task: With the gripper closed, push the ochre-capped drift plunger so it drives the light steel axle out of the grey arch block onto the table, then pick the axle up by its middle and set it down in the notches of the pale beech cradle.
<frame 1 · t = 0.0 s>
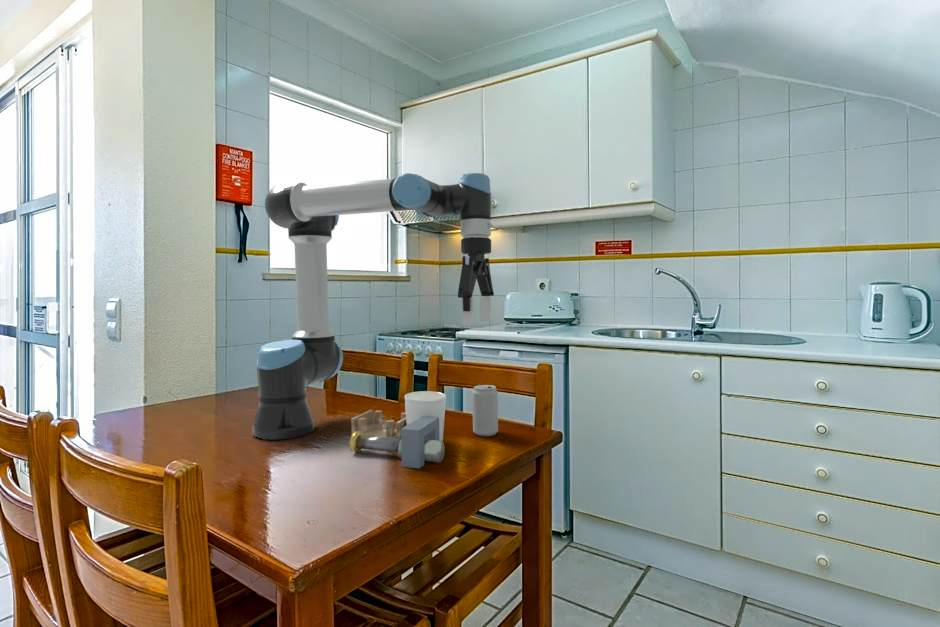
hand: (477, 323, 130), 28 cm above the table, fingers open, 13 cm apart
axle: (421, 449, 113), point 2 cm above the table
candle holder: (424, 445, 124), on the table, touching cradle
beverage can: (485, 434, 132), on the table
grey arch block: (421, 459, 113), on the table
drift plunger: (376, 443, 116), point 2 cm above the table, slide at 0.0 cm
cradle: (384, 440, 127), on the table
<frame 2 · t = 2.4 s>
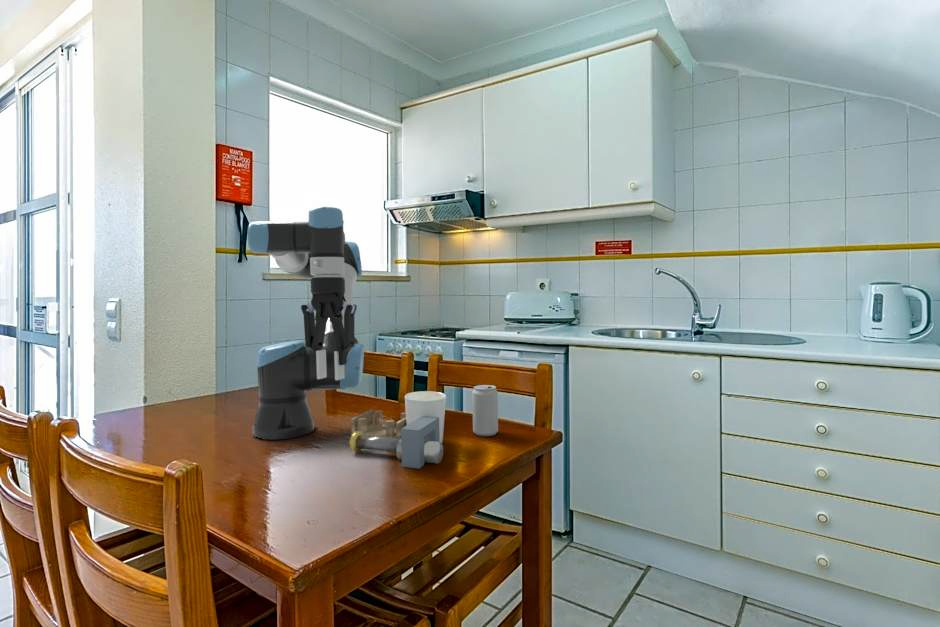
hand: (330, 378, 119), 17 cm above the table, fingers open, 4 cm apart
axle: (420, 450, 112), point 2 cm above the table, tilted 19°
everything else where it was.
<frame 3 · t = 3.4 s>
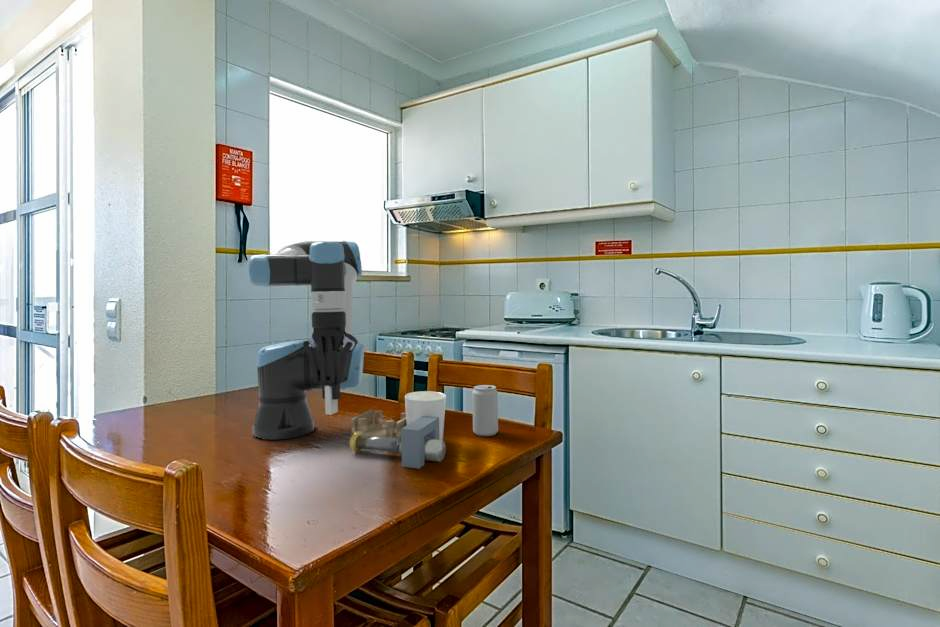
hand: (331, 413, 120), 9 cm above the table, fingers closed
axle: (422, 449, 113), point 2 cm above the table, tilted 15°
everything else where it was.
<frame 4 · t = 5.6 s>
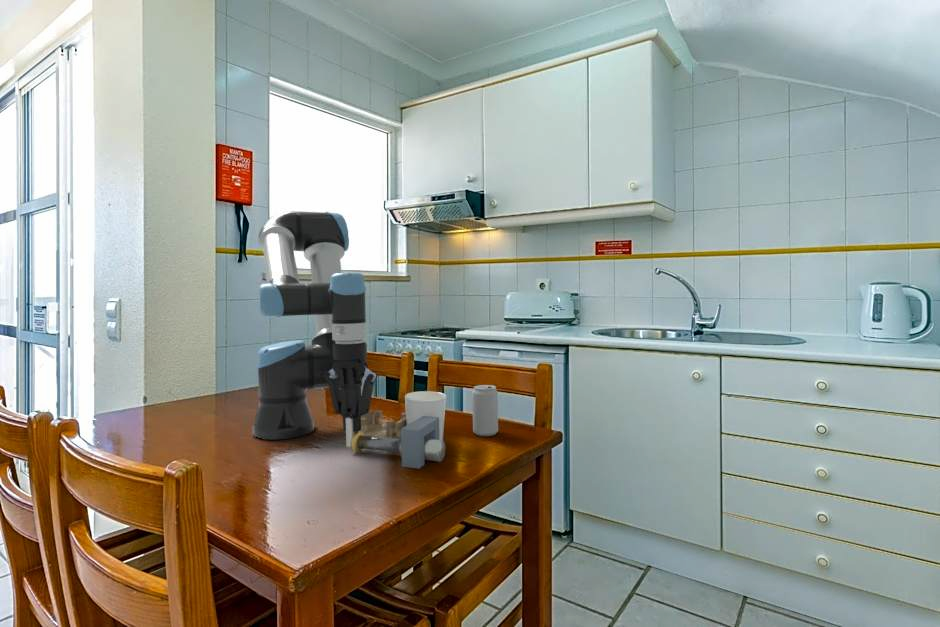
hand: (352, 445, 118), 2 cm above the table, fingers closed
drift plunger: (377, 443, 116), point 2 cm above the table, slide at 0.3 cm, touching gripper
everything else where it was.
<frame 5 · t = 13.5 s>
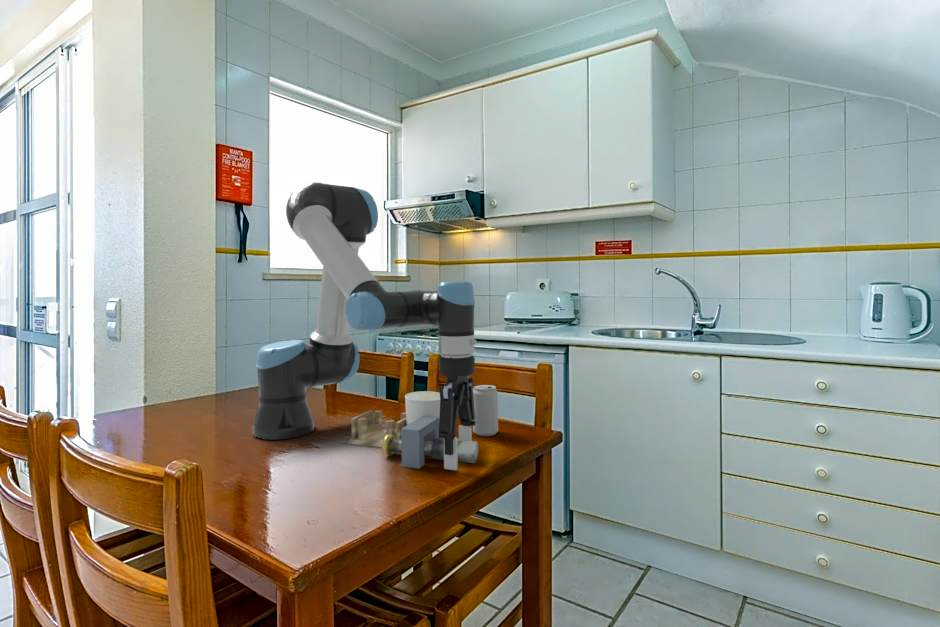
hand: (458, 461, 110), 0 cm above the table, fingers open, 8 cm apart
axle: (455, 450, 112), point 2 cm above the table, tilted 70°, touching gripper
drift plunger: (409, 446, 114), point 3 cm above the table, slide at 8.1 cm
everything else where it was.
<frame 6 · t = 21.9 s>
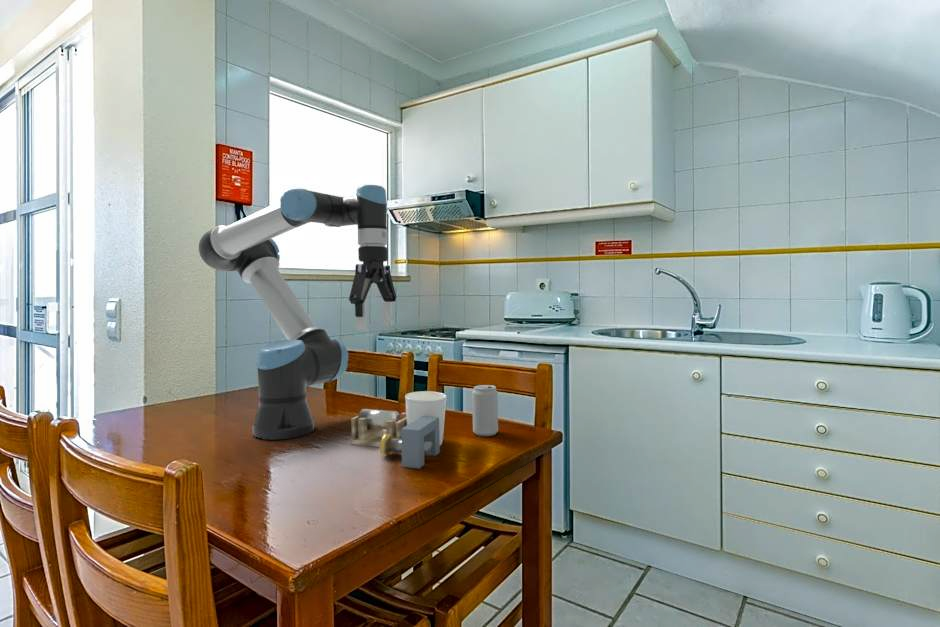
hand: (375, 327, 136), 27 cm above the table, fingers open, 13 cm apart
axle: (379, 419, 126), point 5 cm above the table, tilted 14°, touching cradle
drift plunger: (407, 446, 114), point 2 cm above the table, slide at 7.6 cm
everything else where it was.
at the end: axle 1.2 cm off-centre on the cradle, point 5.2 cm above the cradle's base; drift plunger slide at 7.6 cm; the gripper is holding nothing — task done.
